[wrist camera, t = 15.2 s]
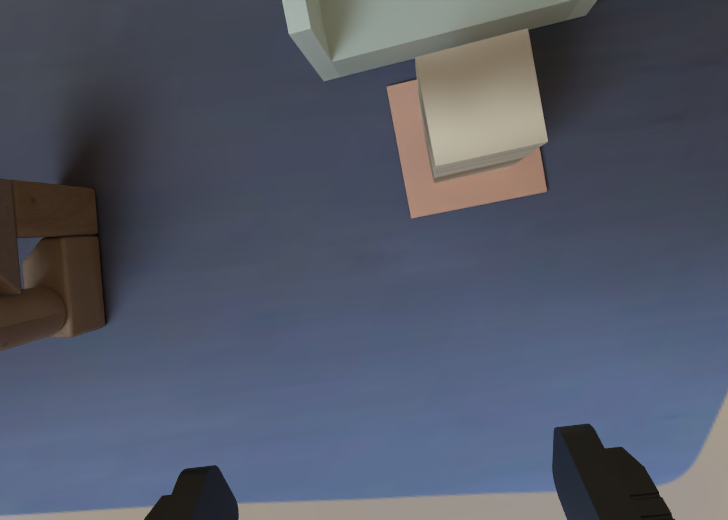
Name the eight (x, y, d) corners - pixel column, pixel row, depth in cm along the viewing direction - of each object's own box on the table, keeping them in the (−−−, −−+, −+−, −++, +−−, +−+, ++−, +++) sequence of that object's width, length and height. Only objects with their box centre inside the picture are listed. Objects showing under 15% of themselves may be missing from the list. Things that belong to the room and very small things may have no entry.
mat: (545, 192, 30) (547, 191, 30) (411, 218, 32) (411, 218, 31) (522, 55, 30) (523, 53, 29) (387, 88, 31) (386, 86, 31)
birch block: (509, 168, 30) (547, 141, 20) (433, 184, 31) (435, 166, 21) (495, 92, 30) (527, 27, 20) (419, 110, 31) (415, 57, 21)
